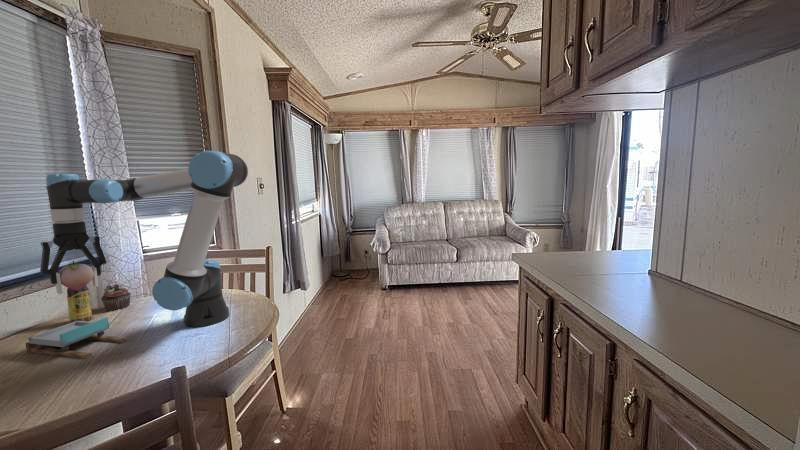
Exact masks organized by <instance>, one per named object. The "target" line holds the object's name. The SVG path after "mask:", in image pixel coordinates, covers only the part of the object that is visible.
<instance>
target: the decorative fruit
mask: <svg viewBox="0 0 800 450" xmlns="http://www.w3.org/2000/svg"><path fill="white" fill-rule="evenodd" d="M91 267H92V266H90V265H88V264H84V263H78V262H75V260H73V261H72V262H71V263H68V264H67V265H65V266H63V267H62V268H60V270H59V271H58V272H57V273H59V274H60V278H61V285H63V286H64V287H65V288H67V289H68V288H70V289H73V290H79V289H80V288H82V287H84V286H86V285H87V286H88V284H89V283H90V282H92V279H93V276H94V272H93V269H92V268H91Z"/></svg>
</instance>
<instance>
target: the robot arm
mask: <svg viewBox="0 0 800 450" xmlns="http://www.w3.org/2000/svg"><path fill="white" fill-rule="evenodd" d="M248 176H249V169H248V166H247V163H246V162H245V161H244V159H243V158H241V157H240V156H238V155H236V154H234V153H233V154H232V153H227V152H224V151H223V152H222V151H219V150H203V151H201V152H198V153H196V154H195V155H194V156H193V157H192V158H191V159H190V161H189V164H188V168H184V169H179V170H178V169H177V170H173V171H168V172H163V173H162V172H161V173H157V174H152V175H145V176H140V177H133V178H128V179H107V178H105V179H104V178H102V179H80V176H79V175H78V174H76V173H49V174H47V175H46V180H45V183H46V187H45V188H46V190H47V196H48V203H49V209H50V217H51V221H52V222H53V223H52V230H53V231H52V232H53V239H52V240H47V241H41V242H40V247H41V248H42V249H41V250H42V252H41V253H42V254H41V260H40V271H39V272H40V273H41V274H44V275H49V280H50V283H51V285H55V289H56V293H57V294H58V295H61V294H64V293H63V292H64V291H63V288H62V287H63V286H62V284H61V278H60V274H59V273H58V272H57V271H58V270H59V267H60V265H61V263H62V261H63V259H64V256H65V254H66V253H67V252H69V251H70V252H71V251H73V250H80V251H81V252H82V253H83V255H84V256H85V257H86V258H87V259H88V261H89V262H90V263H91V265H93V266H90V267H91V268H92V269H93V272H94V276H93V279H92V280H91V282H92V286H93V287H99V286H100V285H99V279H98V278H99V276H101V274H102V273H101V271H102V270H101V266H103V265H105V264H107V258H106V256H105V254H104V252H103V249H102V246H101V243H100V240H101V237H100V236H97V235H93V236H89V235H88V233H87V227H86V221H84V220H85V212H84V206H83V205H84V204H112V203H117V202H119V203H120V202H135V201H142V200H143V199H147V198H151V197H159V196H164V195H169V194H174V193H181V192H186V191H192V192H193V196H192V199H191V203H190V205H189V210H188V213H187V216H186V219H185V223H184V226H183V230H182V233H181V237H180V238H179V243H178V246H177V249H176V253H175V256H174V260H173V261H171V262H169V263H167V264H166V267H165V271H164V274H163V276H162V277H161V278H159V279H158V280H157V281H155V283H154V284H153V286H152V291H151V293H152V297H153V299H154V301H156V303H157V305H158V306H159V307H162V308H163V309H165V310H168V311H178V310H182V309H183V308H184V309H185V312H184V313H185V314H184V315H183V323H184V325H185V326H187V327H189V328H190V327H191V328H198V327H206V326H211V325H214V324H218V323H220V322H222V321H224V320H226V319H228V318H229V316H230V309H229V307H228V306H227V303H226V301H225V299H224V295H223V287H222V285H223V283H222V275H221V268H222V267H221V265H220V262H219V261H218V259H206V258H207V254H208V252H209V248H210V245H211V243H212V238H213V235H214V232H215V229H216V225H217V223H218V219H219V216H220V212H221V210H222V206H223V203H224V201H225V200H227V199H229V198H230V199H231V195H232V192H233V188H235V187H238V186H241V185H242V184H243V183H244V182H245V181H247V178H248ZM88 241H89V242H90V243H92V246H93V249H94V251H95V254H96V256H97V259H96V258H95V256H94V255H93V254H92V252H91V251H90V249H89V248H88V247H87V246H86V243H87V242H88ZM54 244H55V246H57V247H58V249H57V253H56V255H55V257H54V259H53V261H52V264H51V266H50V268H49V265H50V255H51V248H52V247H53V245H54Z"/></svg>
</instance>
